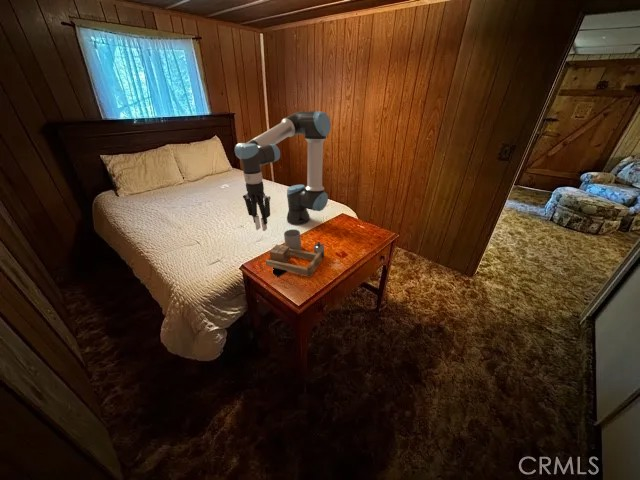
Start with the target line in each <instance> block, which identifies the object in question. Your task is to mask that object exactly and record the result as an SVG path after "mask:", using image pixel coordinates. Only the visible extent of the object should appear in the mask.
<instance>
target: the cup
mask: <svg viewBox="0 0 640 480" xmlns="http://www.w3.org/2000/svg"><path fill="white" fill-rule="evenodd" d="M283 237H284V246H287V247H289V248H290V249H295V250H301V251H302V240H301V232H300V230H298V229H289V230H288V229H287V230H285V231H284V232H283Z"/></svg>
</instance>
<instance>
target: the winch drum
mask: <svg viewBox="0 0 640 480" xmlns="http://www.w3.org/2000/svg"><path fill="white" fill-rule="evenodd" d="M313 251H314V252H313V253H316V254H317V253H318V252H322V259H324V257H325V246H324V244H322V243H321V241H317V243H316V244H314V245H313Z"/></svg>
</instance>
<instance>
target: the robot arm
mask: <svg viewBox="0 0 640 480" xmlns="http://www.w3.org/2000/svg"><path fill="white" fill-rule="evenodd" d="M331 129H332V123H331V120H330V117H329V115H328V114H327V113H326V112H324V111H319V110H314V111H313V110H312V111H311V110H309V111H308V110H306V111H305V110H301V111H298V112H295V113H292V114H291V115H289V116H286V117H284V118H283V119H281V121H280V123H278V124H276V125H275V126H273V127H272V128H270V129H268V130H266V131H265V132H263V133H261V134H259V135H257V136H256V137H254V138H252V139H251V140H249V141H246V142H239V143H237V144H235V147H234V154H235V157H237V158H238V159H240V161H241V162H240V163H241V166H242V171H243V177H244V182H245V188H246V192H247V193H246V194H243V195H242V198H243V199H244V202H245V205H246V206H245V207H246V209H247V213H248V215H249V216H251V217H252V219H253V223H254V225H255V230H256V231H258V230H260V229H261V228H262V231H263V232H265V231H266V230H268V226H267V224H268V218H269V217H270V216H271V206H270V205H271V204H270V203H271V196H267V195H266V193H265V191H264V189H265V186H264V182H263V180H264V179H263V173H262V168H261V167H262V166H264V165H267V164H268V165H269V164H272V163H275V162H277V161H279V160H280V158H281V151H280V148H279V147H278V146H277V144H279V143H280V142H282V141H283V140H285V139H286V138H288V137H289V138H290V137H293V136H296V135H304V139H305V141H306V142H307V173H306V174H307V175H306V176H307V178H306V179H307V184H306V185H305V184H295V185H291V186H289V187H287V189H286V197H287V204H288V212H287V216H286V221H287V224H290V225H296V226H301V225H305V224H307V223H308V222H310V220H311V218H310V217H311V216H310V213H309V211H308V210H311V211H314V212H315V211H316V212H322V211H323V210H324V209H325V208H326V206H327V204H328V201H329V196H328V195H329V194H328V193H326V192H325V187H324V186H323V165H324V164H323V159H324V156H323V155H324V142H325V141H326V140H327V136H329V134H330V132H331ZM258 207H259V211H260V215H261V218H260V216H259V213H258Z"/></svg>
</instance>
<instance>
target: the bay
mask: <svg viewBox="0 0 640 480" xmlns="http://www.w3.org/2000/svg"><path fill="white" fill-rule="evenodd" d="M289 252H290V257H294V258H299V259H303V260H304V259H305V260H310V261H311V262H310V263H309V264H308V266H307V267H306V266H305V267H304V266H302V265H301V266H300V265H295V264H291V263H282V262H278V261H273V260H268V258H267V259H266V260H265V261H266V265H267V266H270V267H273V268H277V269H282V270H286V271H287V272H286V273H292V274H297V275H300V276H301V275H302V276H306V277H310V278H311V277H312V276H313V274H314V273H315V271H316V270H317V268H318V267H319V265H320V263H321V262H322V261H323V258H322V252H318V253H317V254H316V253H314V252H311V251H305V250H302V249H301V250H295V249H290V248H289Z"/></svg>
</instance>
